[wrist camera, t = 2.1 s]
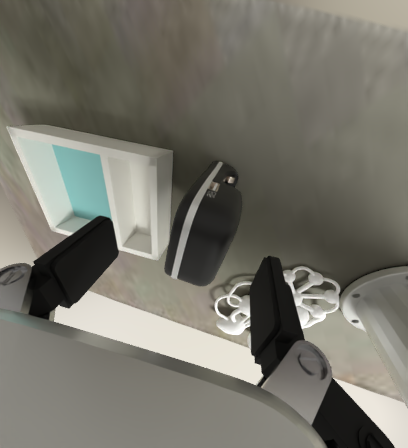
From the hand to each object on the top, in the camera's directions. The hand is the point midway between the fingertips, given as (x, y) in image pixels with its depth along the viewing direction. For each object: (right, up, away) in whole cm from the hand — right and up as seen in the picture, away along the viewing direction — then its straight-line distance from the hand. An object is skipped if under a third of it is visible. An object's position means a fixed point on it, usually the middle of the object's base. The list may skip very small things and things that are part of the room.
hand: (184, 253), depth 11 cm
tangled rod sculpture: (+11, -11, +18) cm, 24 cm away
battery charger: (+3, +6, +10) cm, 11 cm away
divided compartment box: (-11, +6, +13) cm, 18 cm away
